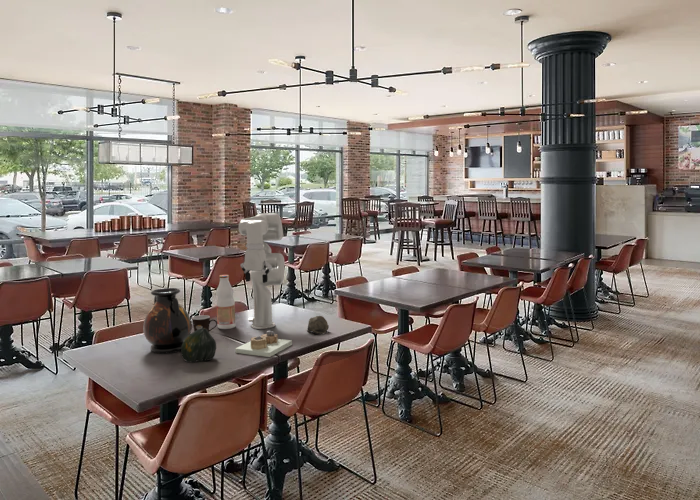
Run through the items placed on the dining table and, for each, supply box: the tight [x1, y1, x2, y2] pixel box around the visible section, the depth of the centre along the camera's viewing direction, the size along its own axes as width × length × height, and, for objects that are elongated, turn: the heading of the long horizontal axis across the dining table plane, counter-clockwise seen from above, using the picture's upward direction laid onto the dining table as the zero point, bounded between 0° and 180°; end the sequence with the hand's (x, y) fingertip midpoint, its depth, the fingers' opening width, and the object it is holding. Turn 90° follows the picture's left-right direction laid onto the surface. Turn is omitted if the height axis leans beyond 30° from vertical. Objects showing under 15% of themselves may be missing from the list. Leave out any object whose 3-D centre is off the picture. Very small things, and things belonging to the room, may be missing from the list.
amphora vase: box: [142, 287, 193, 354], centre depth 261 cm, size 22×22×28 cm
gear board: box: [235, 330, 293, 358], centre depth 260 cm, size 18×20×7 cm
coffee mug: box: [191, 314, 218, 333], centre depth 281 cm, size 12×9×10 cm
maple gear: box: [250, 336, 267, 350], centre depth 256 cm, size 7×7×4 cm
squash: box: [180, 328, 217, 363], centre depth 245 cm, size 14×15×15 cm
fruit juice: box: [215, 274, 236, 330], centre depth 298 cm, size 9×9×28 cm
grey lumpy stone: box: [306, 315, 330, 335], centre depth 286 cm, size 11×9×10 cm
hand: (256, 281), depth 274 cm, fingers open, 9 cm apart
